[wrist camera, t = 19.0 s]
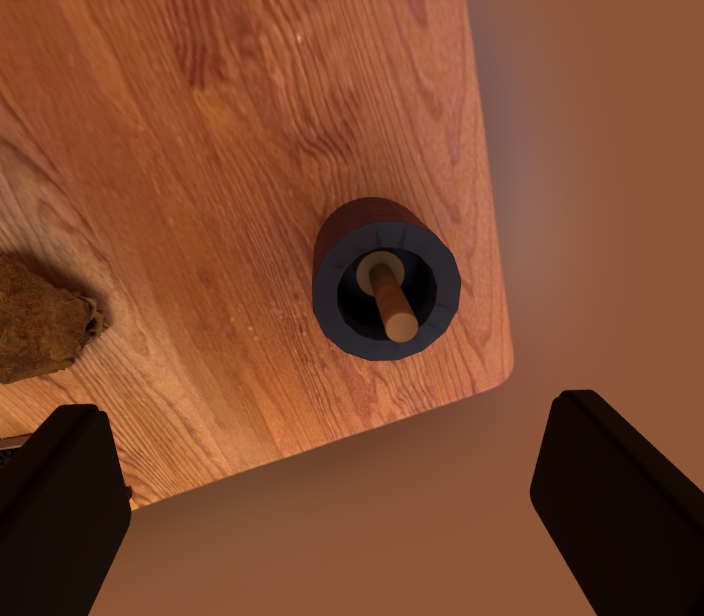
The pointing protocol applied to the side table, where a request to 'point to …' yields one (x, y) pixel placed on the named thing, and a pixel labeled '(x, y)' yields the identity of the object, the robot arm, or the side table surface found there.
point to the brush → (387, 291)
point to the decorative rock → (41, 323)
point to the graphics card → (10, 448)
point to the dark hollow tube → (360, 308)
